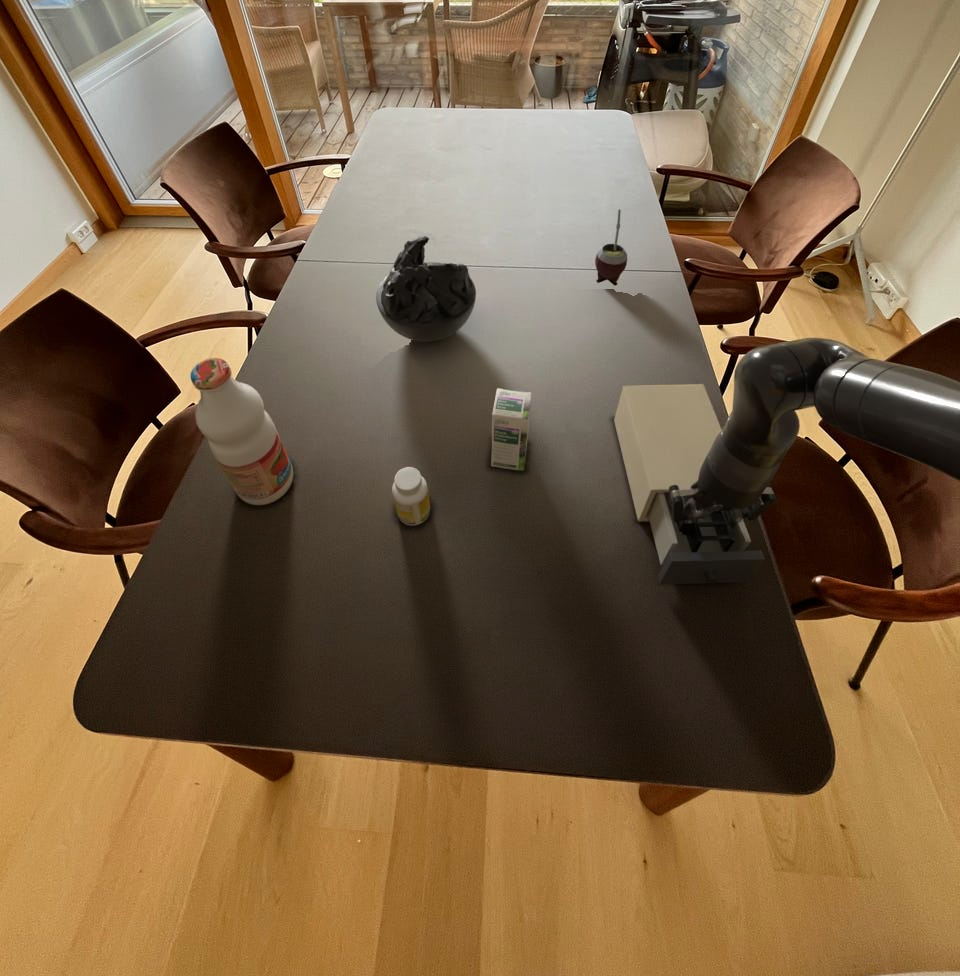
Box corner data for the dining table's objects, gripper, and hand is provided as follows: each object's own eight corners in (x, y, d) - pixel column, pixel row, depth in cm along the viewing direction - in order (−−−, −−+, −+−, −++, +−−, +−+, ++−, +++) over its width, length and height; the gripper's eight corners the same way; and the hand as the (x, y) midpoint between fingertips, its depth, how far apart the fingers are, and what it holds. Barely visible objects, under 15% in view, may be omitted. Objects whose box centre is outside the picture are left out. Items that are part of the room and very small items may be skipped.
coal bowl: (453, 374, 112) (449, 302, 99) (364, 346, 117) (349, 275, 104) (490, 310, 125) (491, 239, 112) (408, 288, 130) (400, 218, 117)
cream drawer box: (724, 519, 90) (744, 487, 83) (638, 521, 90) (651, 490, 83) (688, 418, 104) (703, 383, 97) (613, 420, 104) (623, 385, 97)
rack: (711, 506, 85) (719, 493, 82) (726, 552, 80) (735, 539, 77) (677, 507, 85) (684, 494, 82) (691, 553, 80) (699, 540, 77)
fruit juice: (231, 471, 97) (166, 359, 77) (286, 449, 100) (238, 336, 80) (243, 516, 91) (176, 408, 71) (301, 491, 94) (252, 381, 74)
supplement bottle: (425, 491, 94) (421, 458, 87) (434, 520, 90) (430, 488, 83) (393, 500, 93) (386, 468, 86) (401, 530, 89) (394, 499, 82)
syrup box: (490, 467, 97) (491, 415, 87) (495, 438, 101) (496, 386, 91) (523, 472, 96) (528, 420, 86) (527, 443, 100) (532, 390, 90)
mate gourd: (605, 291, 129) (616, 236, 119) (584, 272, 134) (592, 218, 124) (630, 280, 132) (643, 226, 121) (608, 262, 137) (619, 208, 126)
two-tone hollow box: (748, 590, 82) (768, 567, 76) (661, 593, 81) (674, 570, 76) (706, 469, 96) (720, 443, 90) (631, 471, 95) (640, 444, 90)
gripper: (785, 436, 73) (742, 503, 85) (674, 439, 72) (646, 505, 84) (811, 489, 67) (761, 552, 79) (691, 492, 67) (659, 555, 79)
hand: (702, 528), depth 82 cm, fingers closed on rack, 5 cm apart
